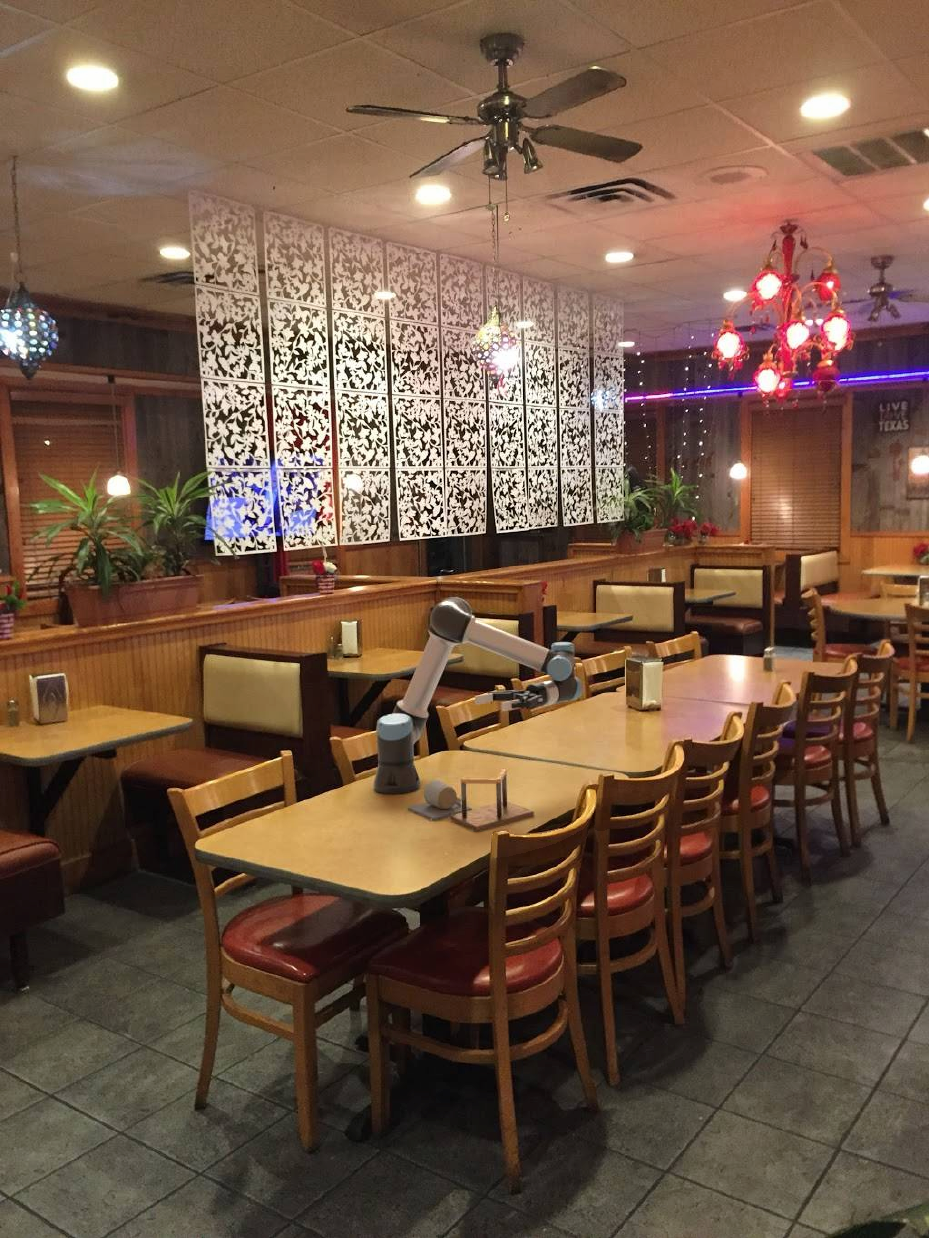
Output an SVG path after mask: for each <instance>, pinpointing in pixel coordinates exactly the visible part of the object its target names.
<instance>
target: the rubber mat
mask: <svg viewBox="0 0 929 1238" xmlns="http://www.w3.org/2000/svg"><path fill="white" fill-rule="evenodd" d="M410 810H411V811H410ZM470 810H473V808H471V807H469V806H467V811H470ZM407 811H410V812H412V811H413V812H412V813H414V812H415V814H416V813H417V815H419V816H421V817H424V818H426V819H428V820H430V819H432V820H435V821H437V820H436V819H439V820H443V819H447V818H450V815H454V814H458V813H462V803H460V804H456V803H455V804H454V805H453V806H452V807H451V808H450V809H446V810H445V809H440V808H438V807H435V806H433V805H430V804H428V803H427V802H426V801H425V802H423V803H419V804H414V805H411V806H407ZM432 820H431V821H432Z"/></svg>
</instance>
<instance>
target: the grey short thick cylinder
mask: <svg viewBox="0 0 929 1238" xmlns="http://www.w3.org/2000/svg"><path fill="white" fill-rule="evenodd" d="M423 790H424V791H423V798H424V801H425V803H426V802H427V803H428V804H430V805H433V806H435V807H438V808H440V809H445V810H446V809H450V808H451V807H452V806H453V805H454V804H455V803H456V804H462V798H459V797H457V796H458V795H457V792H456V790H455V789H454V788H453V787H452V786H450V785H449V784H446V783H444V782H443V781H441V780H439V779H434V780H431V781H429V782H428V783H427V784H426V786H425V787H424V789H423Z"/></svg>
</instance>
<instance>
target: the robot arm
mask: <svg viewBox="0 0 929 1238" xmlns="http://www.w3.org/2000/svg"><path fill="white" fill-rule="evenodd" d="M429 621H430V624H429V626H428V629H427V632H428V633H429V639H428V640H427V643H426V645H425V648H424V650H423V652H422V654H421V657H420V660H419V662H418V664H417V666H416V669H415V671H414V674H413V676H412V678H411V681H410V683H409V685H408V688H407V690H406V692H405V695H404V697H403V699H401V700H400V699H399V700H398V701H397V702H396V704H395V707H394V709H393V712H392V713H390V714H386V715H383V716H382V717H380V718H379V719H378V720H377V722H376V730H375V731H376V743H377V761H378V764H377V765H378V766H377V770H376V773H375V777H374V781H373V789H374V790H375V791H376V792H378V793H381V794H389V795H390V794H391V795H399V794H407V793H412V792H414V791H417V790H419V788H420V787H421V783H420V782H421V780H420V777H419V774H418V771H417V769H416V764H415V760H414V759H415V756H414V745H415V743H417V741H419V739H421V737H422V736H423V733H424V731H425V725H426V723H427V720H428V718H429V715H430V714H429V712H428V707H429V705H430V703H431V700H432V698H433V696H434V693H435V691H436V688H437V686H438V684H439V681H440V679H441V677H442V674H443V672H444V670H445V667H446V665H447V663H448V662H449V658H450V656H451V654H452V651H453V649H454V647H455V646H458V645H460V644H466V643H469V644H471V645H474V646H476V647H479V648H481V649H483V650H486V651H488V652H490V653H494V654H497V655H498V656H501V657H504V658H507V659H509V660H511V661H514V662H515V663H516V662H517V663H518V664H521V665H524V666H527V667H528V668H532V669H533V670H537V671H538V672H541V673H542V674H546V675H548V676H549V677H550V679H551V680H545V681H540V682H534V683H530V684H528V685H527V686H526V687H525V689H520V690H518V689H511V690H494V691H489V690H488V693H486V694H484V693H483V694H480V695H479V694H478V695H474V705H477V706H478V705H484V704H488V703H490V704H493V702H498V701H499V702H500V701H501V704H500V705H501V706H500V707H501V708H500V709H501V712H507V711H508V712H509V711H512V710H518V709H525V710H529V709H532V708H538V707H542V706H546V707H550V705H552V704H553V705H554V704H557V703H564V702H570V701H573V700H577V699H578V698H580V697H581V696H582V693H583V685H582V681H581V680H580V679H579V678H578V677H577V676H576V675H575V674H576V673H575V664H576V663H575V653H576V652H575V644H574V643H572V642H568V641H560V642H558V641H557V642H553V643H552V644H551V649H548V648H546V647H545V646H541V645H540V644H537V643H534V642H532V641H529V640H526V639H524V638H521V637H520V636H516V635H514V634H512V633H509V632H507V631H504V630H501V629H499V628H497V627H494V626H492V625H489V624H487V623H485V622H482V621H479V620H477V619H476V617H475V615H474V614H473V611H472V608H471V606H470V604H469V603H468V602H467V601H466V600H464V599H463V598H460V597H454V596H453V597H452V596H451V597H447V598H445V599H443V600H442V601H441V602H439V603H438V604H437V603H436V605H435V607H434V608H432V610H431V613H430V620H429Z"/></svg>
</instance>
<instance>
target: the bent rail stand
mask: <svg viewBox="0 0 929 1238" xmlns="http://www.w3.org/2000/svg"><path fill="white" fill-rule="evenodd" d="M507 772H508V771H507V769H506V768H502V769H501V771H500V772H499V774H498V775H497V778H488V777H487V778H485V777H484V778H478V777H477V778H475V777H474V778H470V777H469V778H464V777H462V778H461V779H460V785H461V786H460V790H461V791H460V792H461V795H460V796H461V804H462V813H458V814H454V815H450V817H449V820H452V821H451V822H453V821H454V822H453V823H456V824H458V825H460V826H463V827H465V828H468V829H469V830H471V829H473V830H472V831H474V830H475V831H474V832H476V831H478V832H480V830H481V831H484V830H483V829H485V830H487V829H493V828H496V827H500V826H502V825H503V826H504V825H506V824H510V823H514V822H517V821H522V820H524V819H528V818H532V817H534V816H535V811H534V810H532V809H529V808H526V807H524V806H520V805H518V804H515V803H512V802H510V801H508V788H507V787H508V785H507ZM467 784H468V785H469V784H473V785H474V784H475V785H477V784H478V785H479V784H481V785H482V784H483V785H484V784H486V785H490V784H491V785H492V784H493V785H495V786H496V787H495V790H496V795H495V796H496V803H494V804H490V805H486V806H481V807H478V808H473V809H472V810H470V811H467V807H468V806H467V804H468V803H467Z"/></svg>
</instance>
